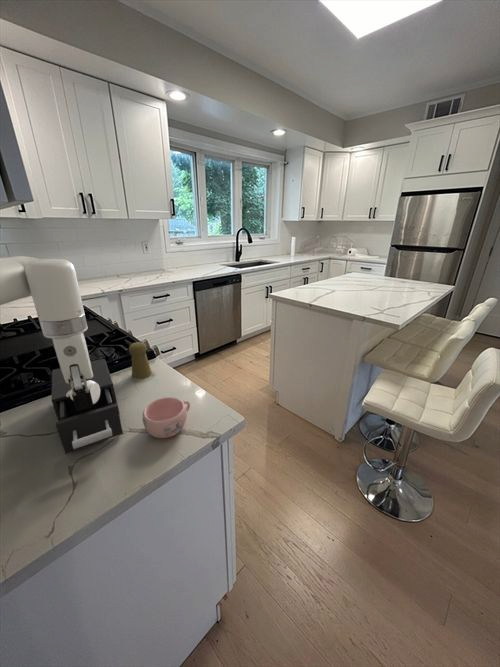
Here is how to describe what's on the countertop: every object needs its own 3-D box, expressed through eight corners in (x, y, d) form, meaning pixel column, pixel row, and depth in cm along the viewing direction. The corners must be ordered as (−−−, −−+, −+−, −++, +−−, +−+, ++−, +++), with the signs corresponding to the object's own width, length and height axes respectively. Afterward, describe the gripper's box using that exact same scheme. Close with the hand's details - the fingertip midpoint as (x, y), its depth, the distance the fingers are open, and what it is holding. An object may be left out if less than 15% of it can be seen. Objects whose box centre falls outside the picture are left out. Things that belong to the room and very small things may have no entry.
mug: (159, 451, 61) (155, 429, 58) (137, 429, 67) (133, 409, 65) (202, 423, 69) (201, 404, 66) (179, 406, 75) (177, 388, 73)
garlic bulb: (77, 395, 65) (72, 375, 63) (103, 395, 65) (98, 375, 63) (62, 410, 60) (56, 389, 57) (90, 410, 60) (85, 389, 58)
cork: (135, 381, 86) (130, 349, 82) (129, 373, 91) (124, 343, 86) (154, 375, 90) (150, 344, 86) (147, 367, 94) (143, 338, 90)
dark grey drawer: (127, 447, 60) (121, 418, 57) (66, 471, 55) (55, 440, 52) (113, 401, 75) (107, 376, 72) (63, 416, 70) (55, 390, 67)
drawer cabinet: (119, 415, 72) (113, 383, 68) (62, 433, 65) (51, 400, 61) (110, 386, 84) (104, 358, 80) (61, 399, 77) (52, 369, 74)
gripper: (90, 335, 50) (108, 416, 57) (83, 309, 63) (98, 378, 70) (39, 344, 46) (65, 429, 53) (42, 315, 59) (63, 386, 66)
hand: (83, 399), depth 61 cm, fingers closed on garlic bulb, 5 cm apart
